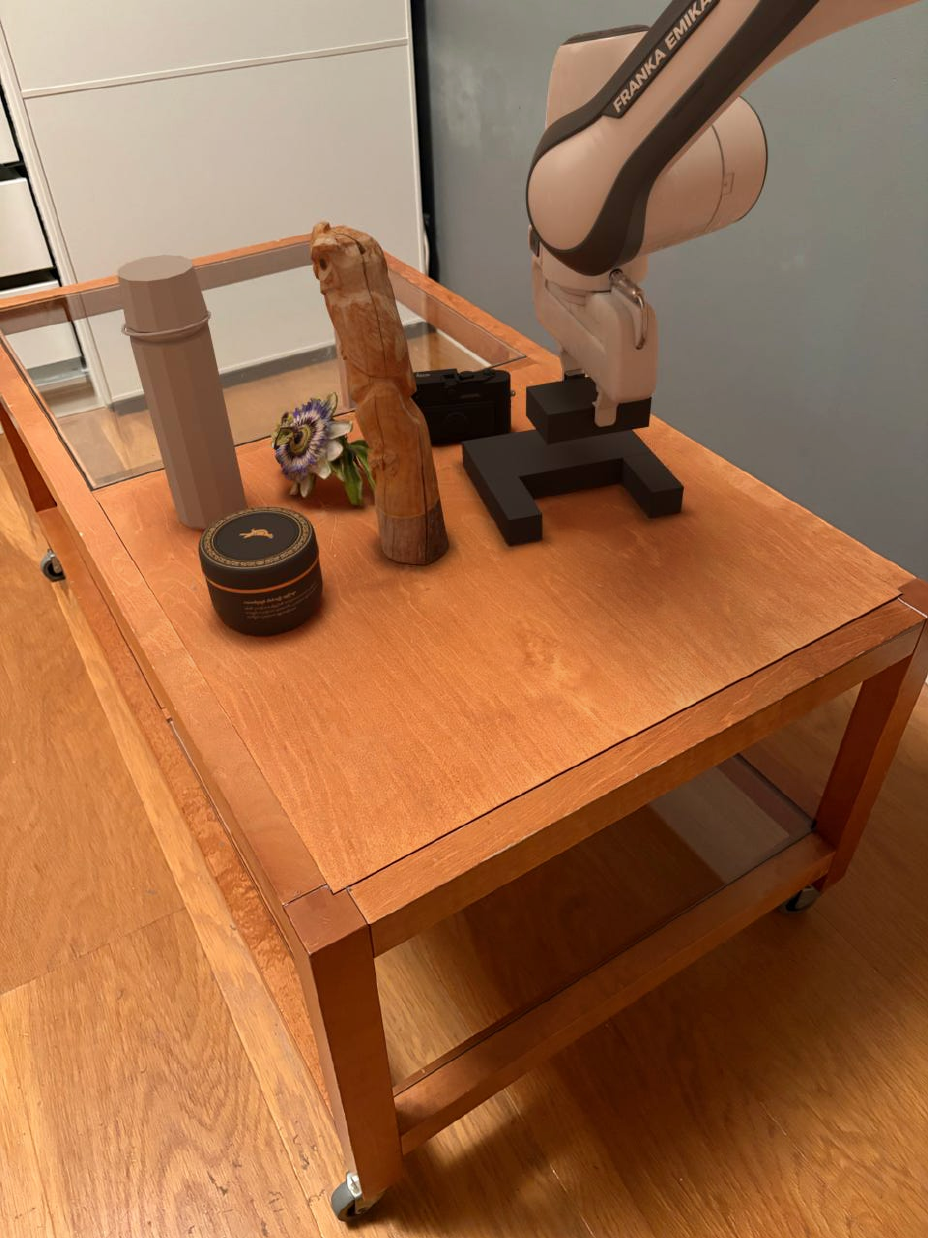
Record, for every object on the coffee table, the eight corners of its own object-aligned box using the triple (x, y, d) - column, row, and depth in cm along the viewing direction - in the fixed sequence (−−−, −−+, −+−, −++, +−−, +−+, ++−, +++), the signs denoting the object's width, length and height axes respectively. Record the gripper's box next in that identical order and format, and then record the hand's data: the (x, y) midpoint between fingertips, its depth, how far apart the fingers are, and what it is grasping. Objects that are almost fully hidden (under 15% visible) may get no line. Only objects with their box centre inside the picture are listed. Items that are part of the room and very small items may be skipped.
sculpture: (347, 537, 93) (303, 218, 74) (440, 522, 94) (420, 206, 75) (356, 576, 88) (310, 244, 69) (454, 560, 89) (437, 231, 70)
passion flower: (306, 536, 103) (241, 441, 100) (381, 483, 107) (320, 390, 104) (342, 525, 93) (271, 419, 90) (423, 466, 97) (357, 363, 94)
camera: (507, 410, 112) (507, 346, 107) (519, 439, 106) (518, 373, 101) (387, 422, 111) (381, 358, 106) (392, 452, 105) (386, 385, 100)
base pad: (617, 438, 106) (618, 414, 104) (681, 512, 94) (684, 486, 92) (462, 466, 102) (461, 441, 101) (508, 546, 90) (508, 520, 89)
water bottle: (263, 518, 96) (213, 269, 80) (188, 544, 93) (121, 290, 77) (230, 480, 102) (177, 242, 86) (159, 503, 99) (91, 260, 83)
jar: (208, 586, 87) (190, 516, 82) (315, 564, 89) (304, 494, 85) (221, 653, 80) (202, 581, 75) (337, 627, 82) (326, 555, 77)
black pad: (623, 399, 92) (625, 370, 90) (649, 426, 87) (652, 397, 85) (525, 415, 90) (525, 386, 88) (547, 444, 85) (547, 414, 84)
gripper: (686, 290, 72) (667, 451, 80) (585, 213, 87) (579, 356, 96) (609, 301, 70) (598, 464, 79) (520, 221, 86) (520, 365, 94)
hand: (587, 404), depth 88 cm, fingers closed on black pad, 6 cm apart
